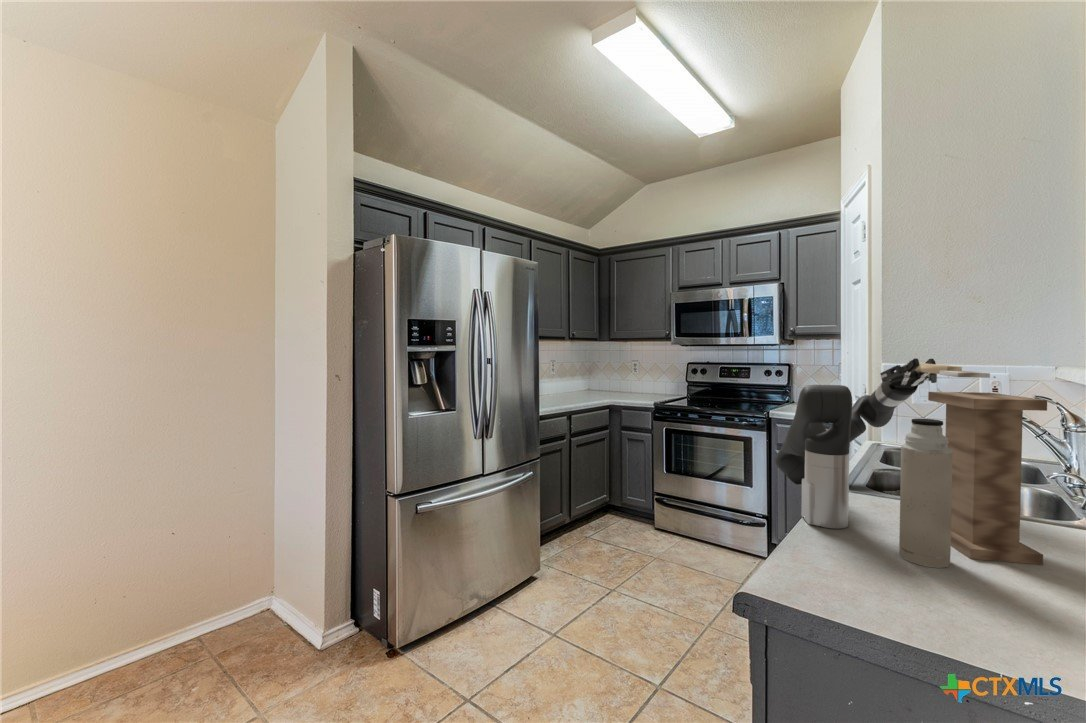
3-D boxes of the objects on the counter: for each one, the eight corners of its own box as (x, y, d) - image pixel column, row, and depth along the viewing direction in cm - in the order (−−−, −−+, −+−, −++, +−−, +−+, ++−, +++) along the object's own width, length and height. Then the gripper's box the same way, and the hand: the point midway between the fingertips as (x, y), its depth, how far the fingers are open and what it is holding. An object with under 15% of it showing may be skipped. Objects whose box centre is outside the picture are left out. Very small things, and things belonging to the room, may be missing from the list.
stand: (970, 558, 96) (973, 399, 95) (925, 529, 111) (928, 391, 110) (1042, 564, 93) (1047, 400, 92) (986, 533, 108) (990, 392, 108)
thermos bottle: (890, 549, 100) (892, 416, 99) (931, 551, 99) (934, 416, 98) (916, 567, 92) (918, 422, 91) (960, 568, 91) (964, 422, 90)
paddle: (957, 377, 106) (958, 368, 106) (900, 369, 131) (900, 362, 131) (989, 377, 105) (990, 368, 105) (925, 370, 129) (926, 362, 129)
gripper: (926, 402, 136) (960, 375, 121) (870, 400, 139) (897, 373, 124) (919, 378, 140) (952, 349, 125) (865, 377, 143) (891, 348, 128)
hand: (924, 361), depth 125 cm, fingers closed on paddle, 3 cm apart
